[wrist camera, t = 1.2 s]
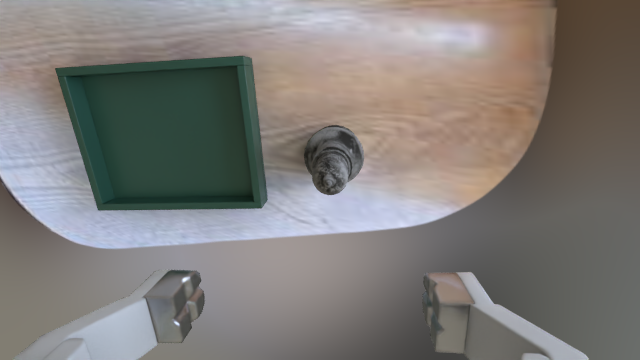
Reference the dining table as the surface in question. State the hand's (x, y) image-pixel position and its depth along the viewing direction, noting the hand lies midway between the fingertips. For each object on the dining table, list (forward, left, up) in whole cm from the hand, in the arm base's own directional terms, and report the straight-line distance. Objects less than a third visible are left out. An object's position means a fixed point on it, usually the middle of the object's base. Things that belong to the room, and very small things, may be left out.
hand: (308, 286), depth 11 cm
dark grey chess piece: (0, 0, -23) cm, 23 cm away
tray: (-2, -18, -23) cm, 29 cm away
